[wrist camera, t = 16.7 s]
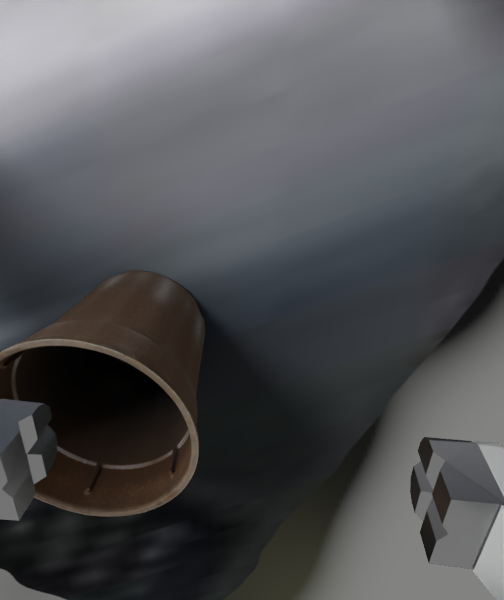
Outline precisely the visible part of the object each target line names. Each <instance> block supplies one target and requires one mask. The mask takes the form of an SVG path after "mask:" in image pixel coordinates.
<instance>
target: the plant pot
mask: <svg viewBox="0 0 504 600" xmlns="http://www.w3.org/2000/svg"><path fill="white" fill-rule="evenodd" d="M204 338H205V322H204V318H203V317H202V315H201V313H200V310H199V308H198V306H197V303H196V301H195V300H194V298H193V297H192V296H191V295H190V294H189V293H188V292H187V291H186V290H185V289H184V288H183V287H182V286H180V285H179V284H177V283H176V282H174V281H173V280H171V279H169V278H166V277H164V276H162V275H159V274H156V273H152V272H147V271H128V272H125V273H122V274H119V275H115V276H112V277H109V278H107V279H106V280H104V281H103V282H102V283H100V284H99V285H98V286H97V287H96V288H95V289H94V290H93V291H91V292H90V293H89V294H88V295H87V296H85V297H84V298H83V299H82V300H81V301H79V302H78V303H77V304H76V305H75V306H73V307H72V308H71V309H70V310H69V311H67V312H66V313H65V314H64V315H63V316H61V317H60V318H59V319H58V320H56V321H55V322H54V323H53V324H51V325H49V326H47V327H45V328H43V329H41V330H39V331H37V332H35V333H34V334H32V335H31V336H30V337H28V338H27V339H26V340H24V341H23V342H20V343H17V344H15V345H12V346H10V347H8V348H6V349H4V350H2V351H1V352H0V399H9V400H18V401H27V402H36V403H44V404H46V405H48V406H49V407H50V410H51V414H52V419H51V420H50V422H49V423H48V426H49V427H50V428H51V429H52V430H53V431H54V432H55V433H56V437H57V453H56V457H55V460H54V463H53V466H52V468H51V469H50V471H49V473H48V474H47V476H46V477H45V478H43V479H41V480H40V481H38V482H37V483H35V484H34V486H35V491H36V494H35V496H34V497H35V498H37V499H39V500H41V501H43V502H46V503H49V504H52V505H54V506H56V507H59V508H62V509H65V510H68V511H72V512H76V513H80V514H85V515H93V516H108V517H111V516H126V515H133V514H139V513H143V512H146V511H149V510H152V509H155V508H157V507H160V506H162V505H164V504H165V503H167V502H169V501H170V500H172V499H173V498H174V497H176V496H177V495H178V494H179V493H180V492H181V491H182V490H183V489H184V488H185V487H186V485H187V484H188V483H189V481H190V480H191V478H192V476H193V474H194V472H195V469H196V466H197V463H198V456H199V436H198V430H197V426H196V423H197V414H198V410H197V401H196V394H197V386H198V379H199V372H200V365H201V358H202V351H203V344H204Z"/></svg>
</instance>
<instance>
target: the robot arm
mask: <svg viewBox="0 0 504 600" xmlns="http://www.w3.org/2000/svg"><path fill="white" fill-rule="evenodd" d="M51 419H52V414H51V410H50V407H49V406H48V405H46V404H44V403H36V402H27V401H18V400H9V399H0V519H5V520H20V518H21V517H22V515H23V513H24V512H25V510H26V509H27V507H28V505H29V504H30V502H31V501H32V499H33V497H34V496H35V494H36V491H35V486H34V484H35V483H37V482H38V481H40V480H41V479H43V478H45V477H46V476H47V474H48V473H49V471H50V469H51V468H52V466H53V463H54V460H55V457H56V453H57V437H56V433H55V432H54V431H53V430H52V429H51V428H50V427H49V426H48V423H49V422H50V420H51ZM418 452H419V455H420V459H421V461H420V462H419V463H417V464H416V465H415V466H414V467H413V471H412V475H411V490H410V492H411V499H412V504H413V508H414V512H415V513H416V514H417V515H418V516H419V517H420V518H421V519H422V520H423V524H422V528H421V531H420V534H421V537H422V541H423V544H424V548H425V551H426V555H427V558H428V562H429V563H430V564H437V565H444V566H453V567H460V568H467V569H474V571H473V572H474V573H475V574H476V576H477V577H478V578H479V579H480V580H481V582H482V583H483V584H484V585H485V586H486V588H487V589H488V590H489V591H490V592H491V594H492V595H493V596H494V597H495V598H496V600H504V448H503V446H502V445H500V444H499V443H495V442H482V441H465V440H452V439H440V438H428V437H424V438H423V439H422V441H421V443H420V446H419V449H418Z"/></svg>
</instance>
